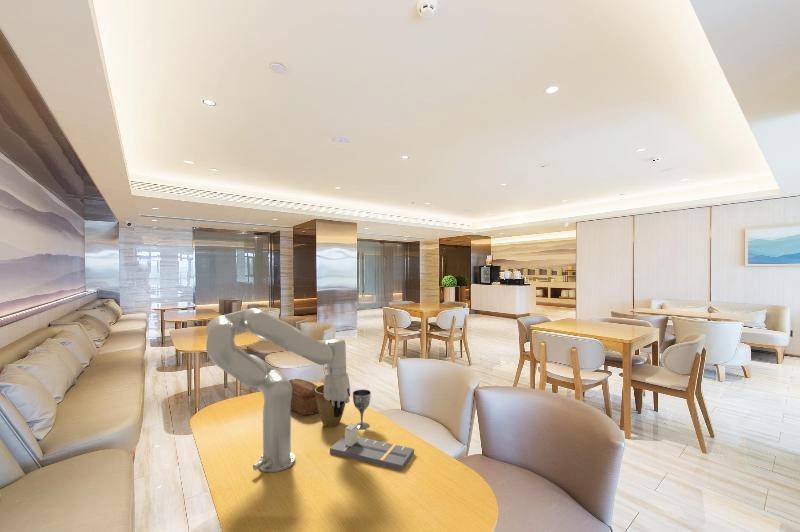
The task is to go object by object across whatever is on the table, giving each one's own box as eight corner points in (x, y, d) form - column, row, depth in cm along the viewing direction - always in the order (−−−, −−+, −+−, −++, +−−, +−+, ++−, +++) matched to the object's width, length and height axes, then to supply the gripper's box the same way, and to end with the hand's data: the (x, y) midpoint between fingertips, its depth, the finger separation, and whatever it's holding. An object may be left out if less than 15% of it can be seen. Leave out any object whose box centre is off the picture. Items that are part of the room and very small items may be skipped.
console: (402, 471, 122) (402, 464, 122) (329, 453, 134) (329, 447, 134) (414, 454, 133) (414, 448, 133) (346, 439, 145) (346, 433, 145)
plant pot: (345, 431, 152) (345, 394, 152) (311, 430, 152) (311, 394, 152) (350, 416, 167) (350, 382, 167) (319, 416, 167) (319, 382, 167)
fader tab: (351, 446, 134) (351, 429, 134) (344, 445, 136) (344, 428, 136) (358, 440, 139) (357, 424, 139) (351, 439, 140) (351, 423, 140)
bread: (302, 419, 164) (302, 393, 164) (276, 402, 184) (276, 379, 184) (328, 411, 174) (328, 386, 174) (300, 396, 194) (300, 374, 194)
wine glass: (349, 427, 155) (349, 393, 155) (359, 420, 162) (359, 388, 162) (364, 431, 152) (364, 396, 152) (374, 424, 159) (374, 391, 159)
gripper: (315, 371, 140) (316, 416, 140) (347, 375, 134) (349, 422, 134) (326, 365, 146) (327, 409, 147) (357, 369, 141) (359, 414, 141)
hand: (338, 415), depth 140 cm, fingers closed
